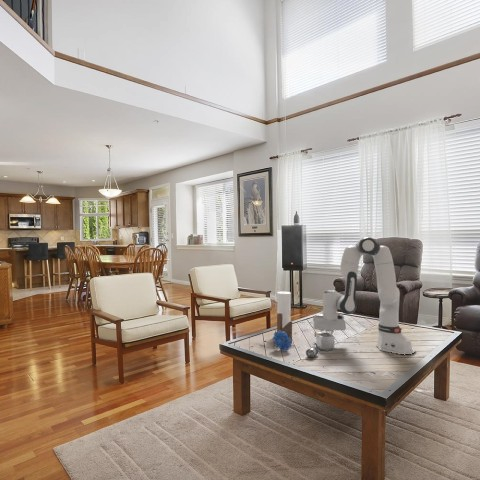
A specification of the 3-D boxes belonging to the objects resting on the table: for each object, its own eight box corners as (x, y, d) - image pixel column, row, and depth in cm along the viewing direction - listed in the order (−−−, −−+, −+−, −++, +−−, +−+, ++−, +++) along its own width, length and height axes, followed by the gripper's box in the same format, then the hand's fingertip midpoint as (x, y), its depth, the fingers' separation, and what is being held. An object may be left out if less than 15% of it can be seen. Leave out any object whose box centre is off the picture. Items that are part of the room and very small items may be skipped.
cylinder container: (287, 337, 240) (287, 293, 240) (274, 334, 245) (275, 292, 245) (292, 333, 248) (292, 291, 248) (280, 331, 253) (280, 290, 253)
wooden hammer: (289, 344, 225) (289, 316, 225) (275, 340, 232) (275, 313, 232) (292, 342, 228) (292, 315, 227) (278, 339, 235) (278, 312, 235)
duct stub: (310, 354, 206) (310, 345, 206) (318, 356, 203) (318, 347, 203) (305, 357, 201) (305, 348, 201) (313, 358, 198) (313, 350, 198)
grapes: (270, 351, 211) (270, 331, 211) (274, 347, 217) (274, 328, 217) (289, 353, 206) (289, 333, 206) (292, 350, 213) (292, 330, 212)
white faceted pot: (336, 348, 216) (337, 334, 216) (326, 352, 210) (326, 337, 210) (323, 344, 224) (323, 330, 224) (313, 347, 218) (313, 333, 218)
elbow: (334, 348, 213) (334, 336, 213) (321, 348, 212) (321, 337, 212) (323, 339, 232) (323, 328, 232) (310, 339, 231) (310, 329, 230)
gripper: (313, 315, 223) (313, 337, 223) (346, 316, 221) (346, 338, 221) (312, 313, 229) (312, 334, 230) (344, 314, 227) (344, 335, 228)
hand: (329, 336), depth 226 cm, fingers closed
